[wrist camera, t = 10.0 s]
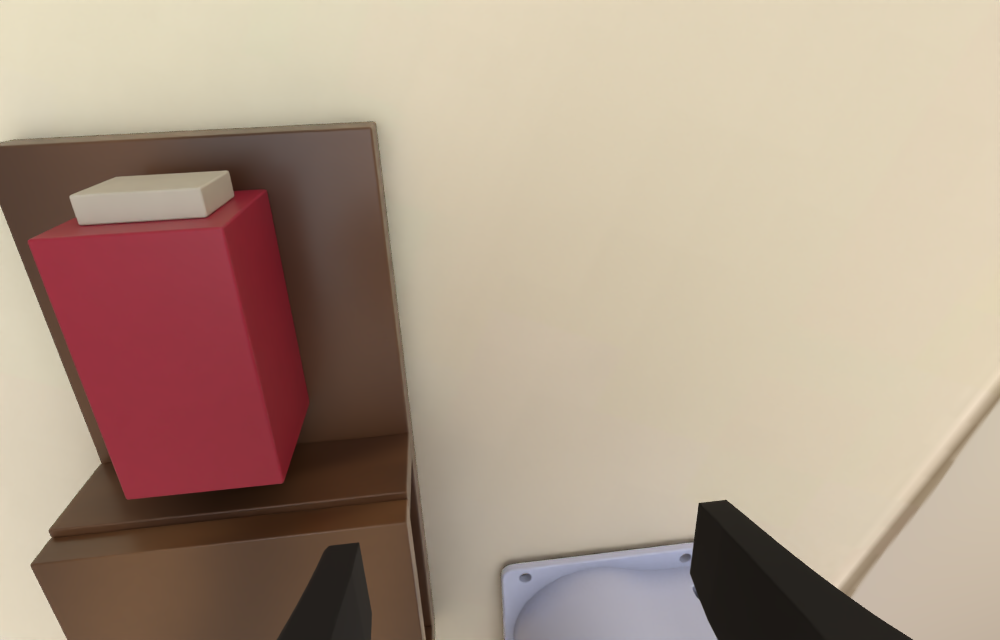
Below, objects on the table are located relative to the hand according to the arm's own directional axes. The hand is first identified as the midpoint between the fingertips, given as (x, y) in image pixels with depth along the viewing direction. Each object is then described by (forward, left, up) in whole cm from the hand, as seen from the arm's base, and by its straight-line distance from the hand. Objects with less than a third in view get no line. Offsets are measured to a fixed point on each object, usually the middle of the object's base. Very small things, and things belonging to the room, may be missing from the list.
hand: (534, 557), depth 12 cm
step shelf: (+8, +2, -9) cm, 13 cm away
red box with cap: (+8, -3, -8) cm, 12 cm away
